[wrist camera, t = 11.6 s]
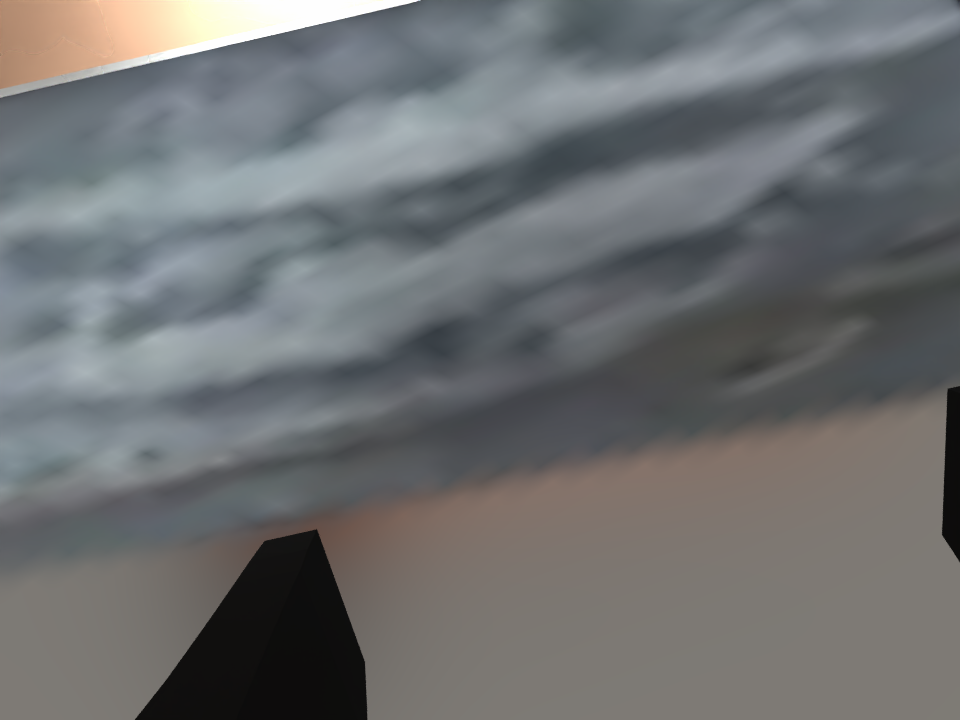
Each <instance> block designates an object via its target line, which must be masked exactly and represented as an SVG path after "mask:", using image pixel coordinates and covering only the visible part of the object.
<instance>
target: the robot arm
mask: <svg viewBox="0 0 960 720" xmlns="http://www.w3.org/2000/svg"><path fill="white" fill-rule="evenodd" d="M946 421H947V422H946V445H945V471H944V498H943V500H944V501H943V524H942V535H943V537H944V539H945V540H946V542H947V543H948V545H949V546H950V548H951V549H952V550H953V552H954V554H955V555H956V557H957V558H958V560H959V562H960V386H958V387H954V388H949V389H948V392H947V418H946ZM135 720H367V697H366V675H365V661H364V658H363V655H362V653H361V650H360V647H359V645H358V642H357V639H356V636H355V633H354V631H353V628H352V625H351V622H350V620H349V617H348V614H347V611H346V608H345V606H344V603H343V600H342V597H341V595H340V592H339V589H338V586H337V583H336V581H335V578H334V575H333V572H332V570H331V567H330V564H329V561H328V559H327V556H326V553H325V550H324V547H323V545H322V542H321V539H320V536H319V534H318V531H317V529H316V530H312V531H308V532H303V533H299V534H294V535H290V536H285V537H281V538H276V539H272V540H267V541H264V542H263V544H262V545H261V547H260V548H259V549H258V551H257V552H256V553H255V555H254V556H253V558H252V559H251V560H250V562H249V563H248V565H247V566H246V568H245V569H244V570H243V572H242V573H241V575H240V576H239V578H238V579H237V581H236V582H235V584H234V585H233V587H232V588H231V589H230V591H229V592H228V594H227V595H226V597H225V598H224V599H223V601H222V602H221V604H220V606H219V607H218V608H217V610H216V611H215V612H214V614H213V615H212V617H211V618H210V620H209V621H208V622H207V624H206V625H205V627H204V628H203V630H202V631H201V632H200V634H199V635H198V637H197V638H196V640H195V641H194V642H193V643H192V645H191V646H190V648H189V649H188V651H187V652H186V653H185V655H184V656H183V658H182V659H181V660H180V662H179V663H178V664H177V666H176V667H175V669H174V670H173V671H172V673H171V674H170V676H169V677H168V678H167V680H166V681H165V682H164V684H163V685H162V686H161V687H160V689H159V690H158V691H157V692H156V694H155V695H154V696H153V698H152V699H151V700H150V701H149V703H148V704H147V705H146V706H145V708H144V709H143V710H142V711H141V713H140V714H139V715H138V716H137V718H136V719H135Z"/></svg>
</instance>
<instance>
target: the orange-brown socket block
mask: <svg viewBox="0 0 960 720" xmlns="http://www.w3.org/2000/svg"><path fill="white" fill-rule="evenodd" d="M416 1H421V0H0V98H1V97H5V96H9V95H14V94H18V93H22V92H27V91H31V90H35V89H40V88H44V87H48V86H53V85H57V84H61V83H66V82H70V81H74V80H79V79H83V78H87V77H92V76H96V75H100V74H105V73H109V72H113V71H118V70H122V69H126V68H131V67H135V66H139V65H144V64H148V63H152V62H157V61H161V60H165V59H170V58H174V57H178V56H183V55H187V54H191V53H196V52H200V51H204V50H209V49H213V48H217V47H222V46H226V45H230V44H235V43H239V42H243V41H248V40H252V39H256V38H261V37H265V36H269V35H274V34H278V33H282V32H287V31H291V30H295V29H300V28H304V27H308V26H313V25H317V24H321V23H326V22H330V21H334V20H338V19H343V18H347V17H351V16H356V15H360V14H364V13H369V12H373V11H377V10H382V9H386V8H390V7H395V6H399V5H403V4H408V3H412V2H416Z"/></svg>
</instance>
